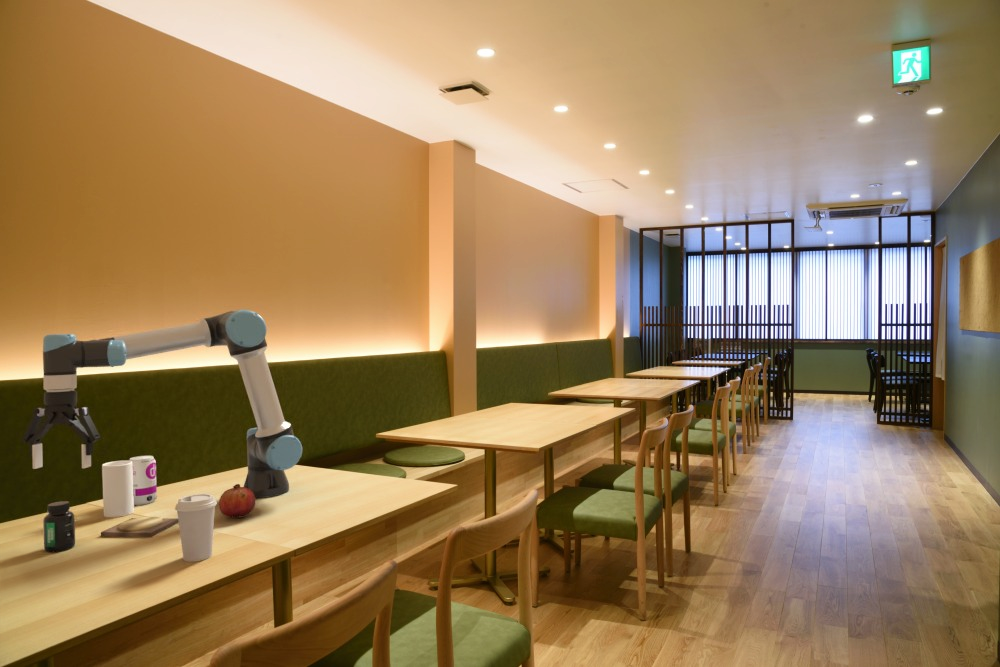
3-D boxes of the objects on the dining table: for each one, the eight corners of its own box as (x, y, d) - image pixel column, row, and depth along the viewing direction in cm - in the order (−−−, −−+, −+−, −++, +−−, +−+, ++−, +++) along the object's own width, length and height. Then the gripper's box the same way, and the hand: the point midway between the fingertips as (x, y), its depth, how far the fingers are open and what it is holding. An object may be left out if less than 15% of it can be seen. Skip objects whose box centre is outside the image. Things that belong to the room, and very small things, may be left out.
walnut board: (179, 522, 191) (178, 515, 191) (151, 536, 178) (150, 529, 178) (132, 522, 193) (131, 515, 193) (100, 536, 180) (100, 529, 180)
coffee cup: (185, 551, 166) (183, 493, 166) (223, 549, 167) (222, 491, 167) (170, 565, 157) (168, 503, 156) (210, 562, 157) (208, 502, 157)
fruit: (261, 516, 195) (260, 484, 195) (229, 524, 188) (228, 490, 188) (245, 510, 203) (244, 478, 202) (213, 518, 195) (212, 485, 195)
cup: (139, 511, 204) (138, 461, 204) (114, 518, 197) (113, 466, 197) (122, 508, 208) (121, 459, 208) (97, 515, 200) (96, 464, 200)
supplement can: (162, 498, 219) (160, 455, 219) (146, 505, 211) (145, 460, 211) (139, 498, 220) (138, 455, 220) (123, 505, 212) (121, 460, 212)
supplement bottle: (51, 554, 166) (50, 508, 166) (39, 550, 170) (37, 505, 170) (80, 546, 172) (78, 501, 172) (67, 542, 176) (66, 498, 175)
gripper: (114, 388, 179) (115, 464, 180) (26, 389, 180) (27, 465, 180) (96, 390, 172) (98, 470, 172) (5, 392, 172) (6, 471, 173)
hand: (62, 467), depth 176 cm, fingers open, 13 cm apart
